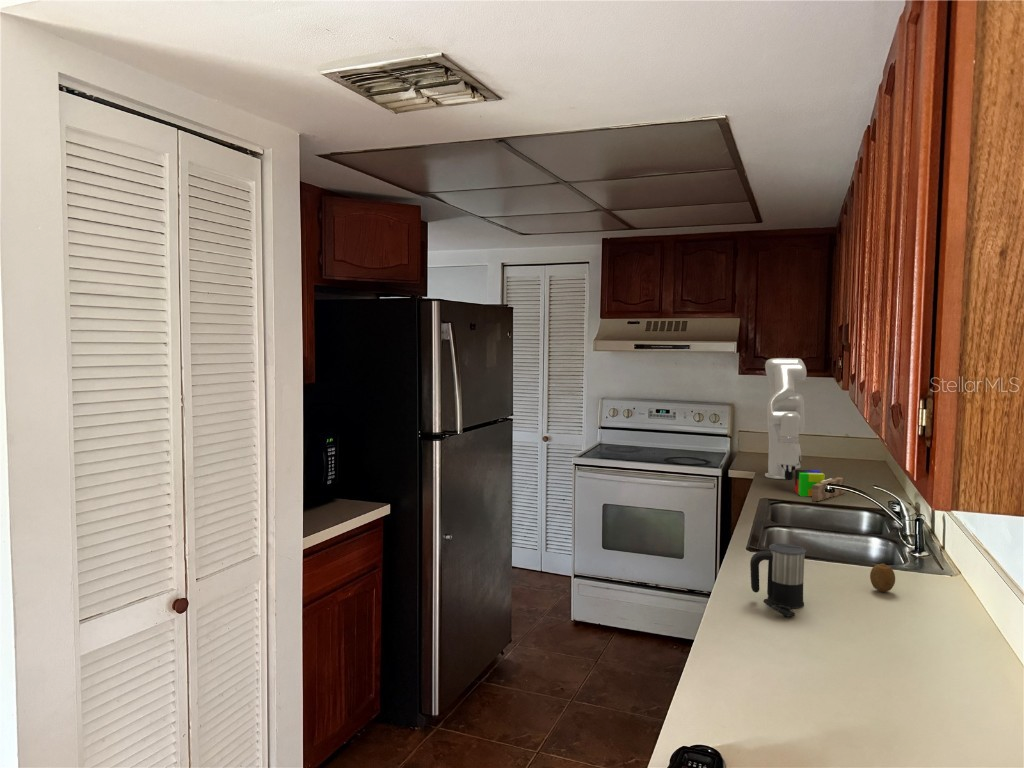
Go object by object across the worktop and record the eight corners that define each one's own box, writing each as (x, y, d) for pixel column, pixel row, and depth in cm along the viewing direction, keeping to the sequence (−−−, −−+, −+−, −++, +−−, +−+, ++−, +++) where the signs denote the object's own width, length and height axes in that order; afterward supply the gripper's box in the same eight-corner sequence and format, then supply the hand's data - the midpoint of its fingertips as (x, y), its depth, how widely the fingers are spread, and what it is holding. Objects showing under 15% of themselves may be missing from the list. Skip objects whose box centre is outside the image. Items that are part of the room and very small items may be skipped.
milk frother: (793, 595, 194) (794, 542, 193) (826, 618, 179) (827, 560, 178) (744, 598, 192) (745, 544, 191) (773, 621, 177) (774, 562, 176)
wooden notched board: (838, 492, 324) (838, 475, 323) (843, 493, 322) (844, 476, 321) (811, 501, 306) (812, 483, 306) (817, 502, 304) (818, 484, 304)
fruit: (880, 596, 193) (881, 567, 193) (864, 588, 199) (865, 560, 199) (900, 594, 195) (901, 566, 194) (883, 587, 201) (884, 559, 200)
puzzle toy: (817, 492, 324) (818, 470, 324) (824, 497, 314) (824, 474, 314) (794, 491, 326) (795, 469, 325) (800, 496, 316) (801, 474, 315)
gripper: (770, 439, 329) (769, 478, 330) (801, 442, 318) (800, 483, 319) (778, 437, 334) (777, 476, 335) (809, 441, 323) (808, 481, 324)
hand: (788, 479), depth 327 cm, fingers closed
